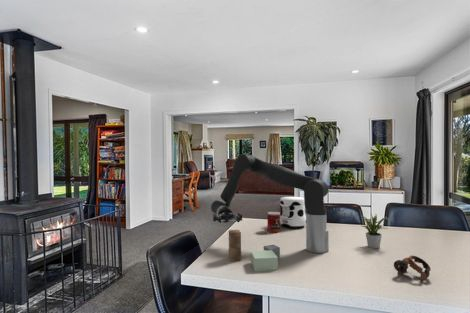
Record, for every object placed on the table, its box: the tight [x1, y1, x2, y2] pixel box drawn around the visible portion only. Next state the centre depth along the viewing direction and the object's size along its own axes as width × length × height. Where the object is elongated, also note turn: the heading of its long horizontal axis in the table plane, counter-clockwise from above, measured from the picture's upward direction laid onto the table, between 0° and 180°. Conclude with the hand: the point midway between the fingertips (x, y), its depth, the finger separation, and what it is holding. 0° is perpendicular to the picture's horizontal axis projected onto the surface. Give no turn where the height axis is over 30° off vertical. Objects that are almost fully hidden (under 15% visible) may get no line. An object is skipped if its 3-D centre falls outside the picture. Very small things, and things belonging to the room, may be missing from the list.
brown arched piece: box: [393, 254, 431, 282], centre depth 102 cm, size 12×10×8 cm
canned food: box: [266, 211, 281, 234], centre depth 168 cm, size 8×8×11 cm
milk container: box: [279, 196, 306, 229], centre depth 181 cm, size 17×17×18 cm
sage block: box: [250, 250, 279, 272], centre depth 113 cm, size 9×9×5 cm
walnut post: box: [228, 229, 242, 262], centre depth 121 cm, size 4×4×12 cm
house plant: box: [360, 213, 388, 249], centre depth 136 cm, size 14×14×16 cm
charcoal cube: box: [263, 244, 281, 260], centre depth 122 cm, size 5×5×5 cm
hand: (229, 220), depth 132 cm, fingers open, 8 cm apart
